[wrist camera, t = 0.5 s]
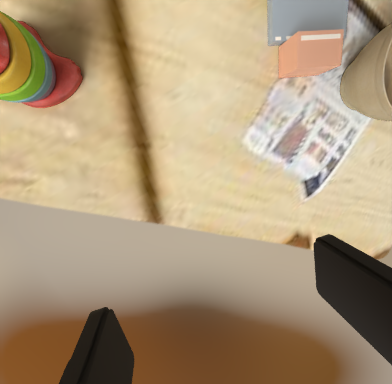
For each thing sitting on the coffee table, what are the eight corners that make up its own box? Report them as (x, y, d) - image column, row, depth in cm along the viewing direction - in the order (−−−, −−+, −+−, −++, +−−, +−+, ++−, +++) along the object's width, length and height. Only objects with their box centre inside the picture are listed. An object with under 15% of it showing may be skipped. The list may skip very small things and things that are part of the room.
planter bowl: (397, 31, 37) (489, -12, 27) (390, 119, 42) (466, 111, 31) (323, 43, 35) (390, 2, 25) (323, 133, 40) (380, 130, 29)
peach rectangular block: (278, 47, 34) (298, 31, 29) (319, 44, 35) (344, 28, 30) (278, 78, 35) (297, 68, 31) (317, 75, 36) (341, 64, 32)
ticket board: (267, -19, 31) (272, -26, 30) (342, -19, 33) (351, -27, 32) (268, 45, 34) (272, 41, 32) (338, 41, 36) (345, 37, 34)
